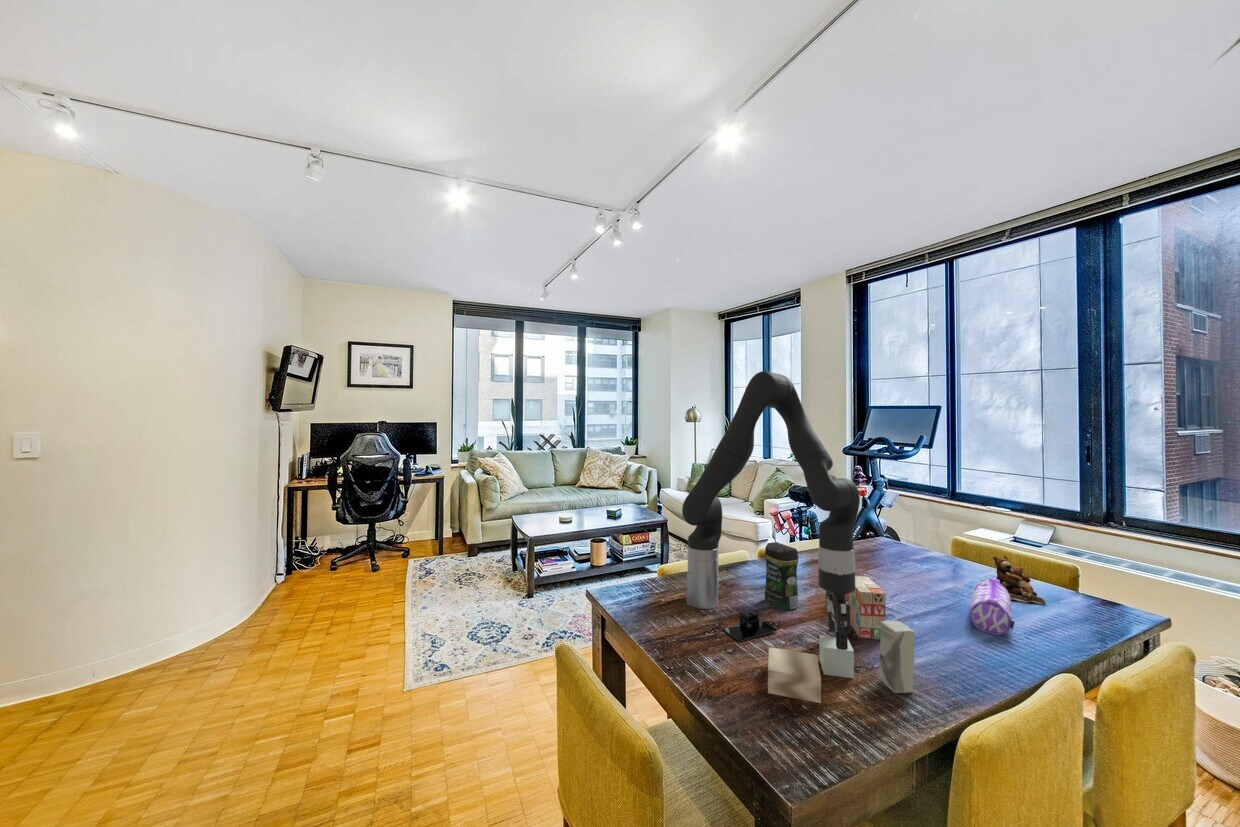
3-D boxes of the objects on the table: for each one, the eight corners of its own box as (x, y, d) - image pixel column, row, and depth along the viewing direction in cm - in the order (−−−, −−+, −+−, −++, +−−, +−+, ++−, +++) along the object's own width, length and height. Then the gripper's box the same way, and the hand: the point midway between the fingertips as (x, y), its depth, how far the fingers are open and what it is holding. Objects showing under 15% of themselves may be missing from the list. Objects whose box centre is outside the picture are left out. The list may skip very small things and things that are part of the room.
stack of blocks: (835, 605, 138) (835, 565, 138) (857, 607, 137) (857, 566, 137) (859, 638, 117) (859, 590, 117) (886, 641, 116) (885, 592, 116)
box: (878, 680, 98) (878, 620, 98) (897, 679, 98) (897, 619, 98) (895, 694, 93) (895, 631, 93) (915, 693, 93) (915, 630, 93)
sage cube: (824, 674, 100) (823, 647, 100) (819, 660, 106) (819, 635, 106) (853, 678, 98) (853, 651, 99) (847, 664, 104) (847, 638, 104)
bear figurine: (1004, 603, 141) (1004, 564, 141) (977, 586, 155) (976, 550, 155) (1056, 607, 138) (1055, 567, 138) (1023, 589, 152) (1023, 553, 153)
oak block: (768, 694, 93) (768, 669, 93) (768, 669, 102) (768, 647, 102) (821, 704, 90) (821, 679, 90) (816, 677, 99) (816, 654, 99)
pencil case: (1015, 641, 116) (1014, 604, 116) (969, 631, 122) (968, 595, 122) (1010, 613, 133) (1009, 580, 133) (970, 605, 139) (970, 574, 139)
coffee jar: (760, 601, 140) (760, 541, 140) (779, 598, 143) (779, 539, 144) (782, 614, 131) (782, 549, 132) (803, 609, 134) (803, 546, 135)
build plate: (739, 642, 114) (738, 623, 114) (721, 629, 121) (720, 612, 121) (777, 630, 119) (776, 613, 119) (758, 619, 126) (757, 602, 126)
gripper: (813, 557, 110) (814, 624, 110) (824, 576, 97) (825, 653, 96) (847, 559, 108) (848, 628, 108) (862, 578, 95) (864, 657, 94)
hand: (837, 639), depth 102 cm, fingers open, 8 cm apart
